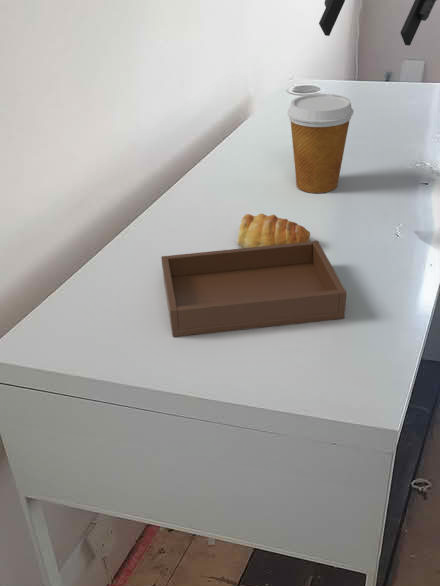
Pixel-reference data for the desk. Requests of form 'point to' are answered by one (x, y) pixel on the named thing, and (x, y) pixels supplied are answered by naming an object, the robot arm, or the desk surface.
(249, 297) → the serving tray
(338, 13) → the robot arm
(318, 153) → the disposable coffee cup
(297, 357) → the desk surface
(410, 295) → the desk surface
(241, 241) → the pastry
